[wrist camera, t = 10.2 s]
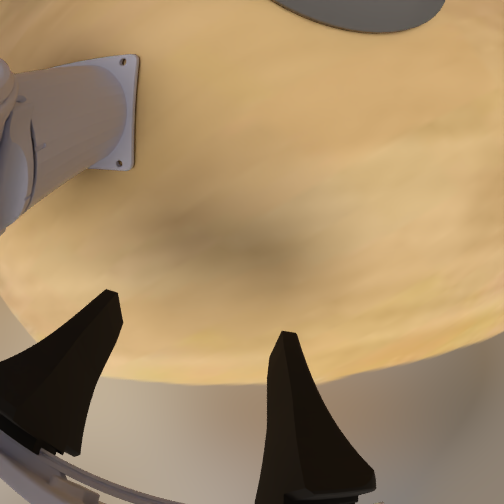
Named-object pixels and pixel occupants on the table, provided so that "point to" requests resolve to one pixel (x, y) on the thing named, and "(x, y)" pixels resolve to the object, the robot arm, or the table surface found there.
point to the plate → (366, 13)
